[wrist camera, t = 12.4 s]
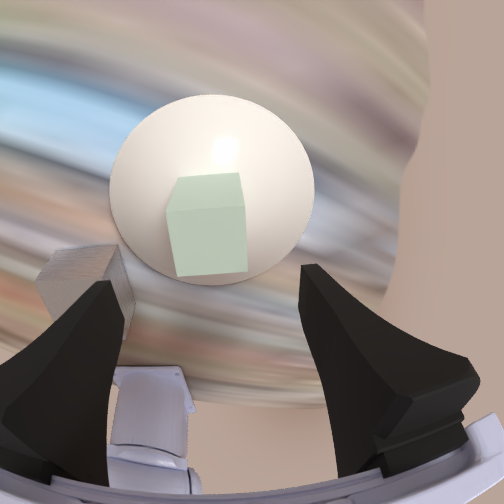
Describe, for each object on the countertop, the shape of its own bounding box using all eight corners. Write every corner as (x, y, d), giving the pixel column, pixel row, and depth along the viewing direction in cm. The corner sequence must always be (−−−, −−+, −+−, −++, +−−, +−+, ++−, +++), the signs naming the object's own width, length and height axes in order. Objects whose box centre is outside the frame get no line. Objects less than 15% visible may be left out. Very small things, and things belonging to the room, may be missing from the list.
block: (241, 225, 20) (248, 271, 16) (185, 230, 20) (177, 276, 15) (238, 171, 18) (245, 205, 14) (178, 177, 18) (165, 211, 14)
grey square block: (135, 303, 24) (126, 339, 20) (78, 305, 23) (63, 339, 20) (117, 244, 21) (101, 278, 17) (55, 250, 20) (34, 281, 17)
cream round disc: (305, 269, 23) (308, 277, 23) (136, 282, 23) (134, 291, 22) (312, 91, 17) (317, 92, 16) (99, 111, 16) (93, 113, 15)
